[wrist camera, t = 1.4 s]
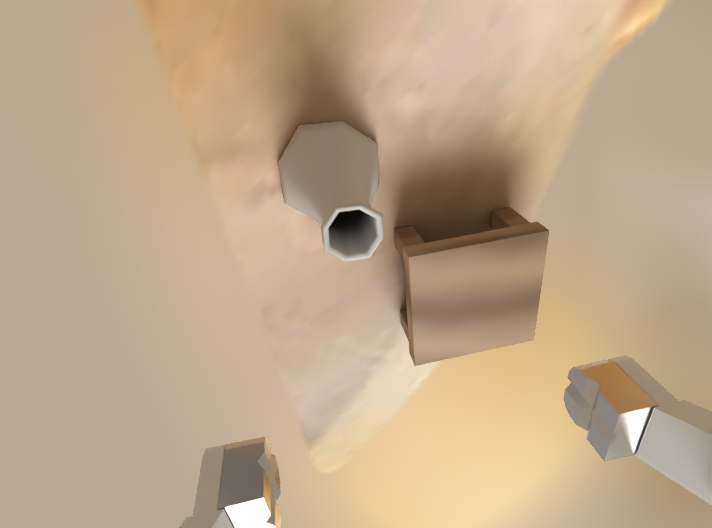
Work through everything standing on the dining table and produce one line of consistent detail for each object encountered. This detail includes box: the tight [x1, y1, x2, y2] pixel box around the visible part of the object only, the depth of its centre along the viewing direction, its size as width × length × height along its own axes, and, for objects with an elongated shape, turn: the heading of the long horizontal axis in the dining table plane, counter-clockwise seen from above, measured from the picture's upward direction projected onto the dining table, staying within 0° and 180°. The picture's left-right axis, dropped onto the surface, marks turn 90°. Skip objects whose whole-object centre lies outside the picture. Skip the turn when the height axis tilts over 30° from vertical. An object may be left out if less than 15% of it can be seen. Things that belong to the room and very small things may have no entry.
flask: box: [278, 121, 383, 261], centre depth 25 cm, size 7×7×10 cm
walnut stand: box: [394, 207, 549, 366], centre depth 33 cm, size 10×10×5 cm
